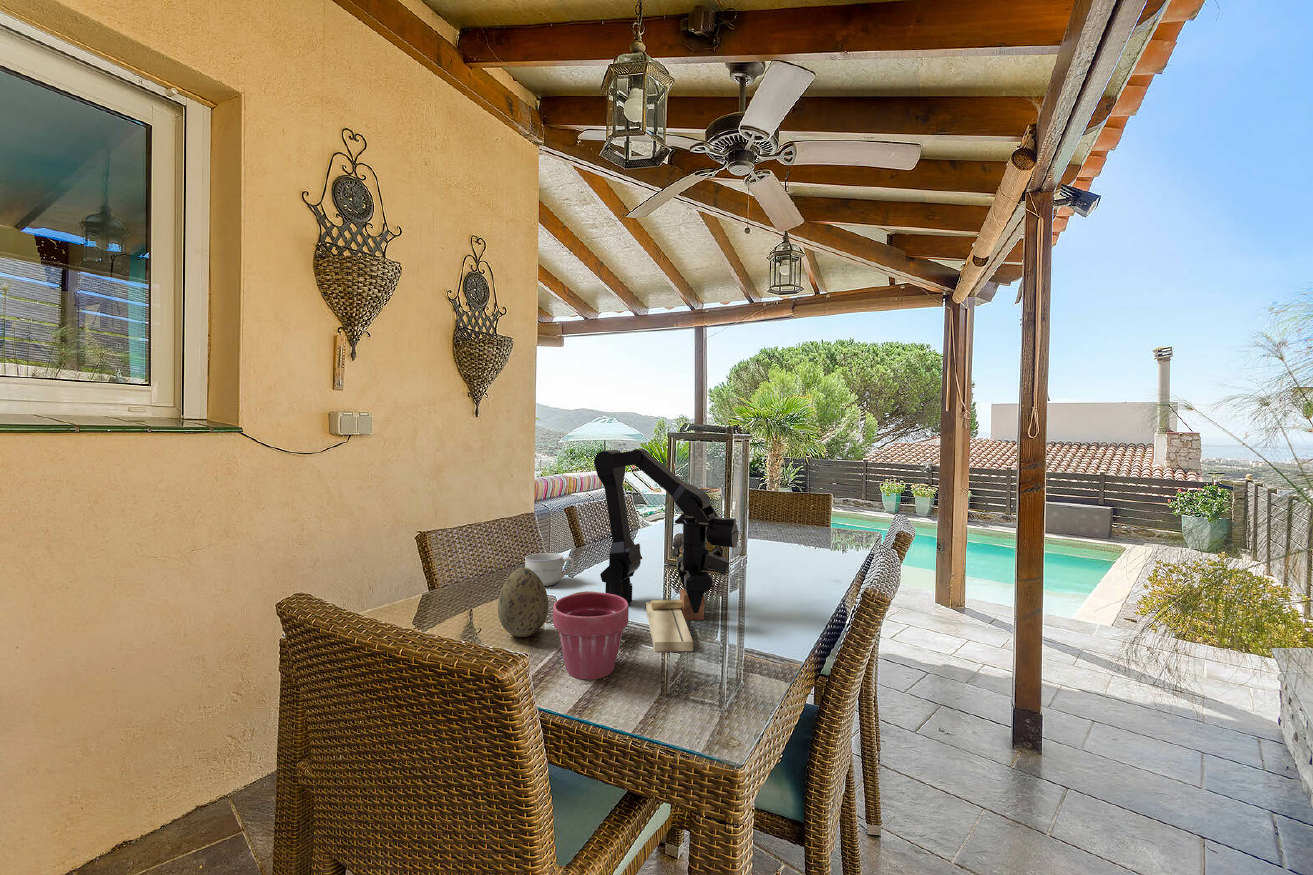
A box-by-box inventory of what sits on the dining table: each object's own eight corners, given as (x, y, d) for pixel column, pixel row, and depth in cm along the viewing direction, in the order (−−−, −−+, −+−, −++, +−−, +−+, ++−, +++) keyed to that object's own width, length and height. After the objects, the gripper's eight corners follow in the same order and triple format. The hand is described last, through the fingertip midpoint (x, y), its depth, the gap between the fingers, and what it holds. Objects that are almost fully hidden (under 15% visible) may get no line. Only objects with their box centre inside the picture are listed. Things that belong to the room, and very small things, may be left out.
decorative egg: (487, 640, 122) (487, 570, 121) (517, 623, 132) (517, 559, 131) (529, 649, 118) (530, 577, 117) (557, 631, 128) (558, 564, 127)
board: (654, 651, 118) (654, 641, 118) (645, 609, 143) (646, 601, 143) (692, 651, 119) (693, 641, 119) (677, 609, 144) (677, 601, 144)
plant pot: (562, 692, 100) (563, 620, 100) (544, 660, 113) (545, 596, 113) (638, 679, 106) (639, 610, 105) (613, 649, 119) (614, 588, 118)
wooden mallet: (652, 621, 135) (652, 596, 135) (649, 614, 140) (649, 590, 140) (703, 619, 137) (704, 594, 137) (699, 612, 142) (699, 588, 142)
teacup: (518, 587, 159) (518, 559, 159) (533, 576, 170) (533, 550, 169) (566, 591, 157) (567, 562, 156) (578, 580, 167) (579, 552, 167)
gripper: (735, 552, 130) (733, 619, 131) (719, 534, 149) (717, 594, 149) (687, 552, 129) (685, 620, 130) (676, 534, 148) (675, 594, 148)
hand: (692, 606), depth 139 cm, fingers open, 9 cm apart
